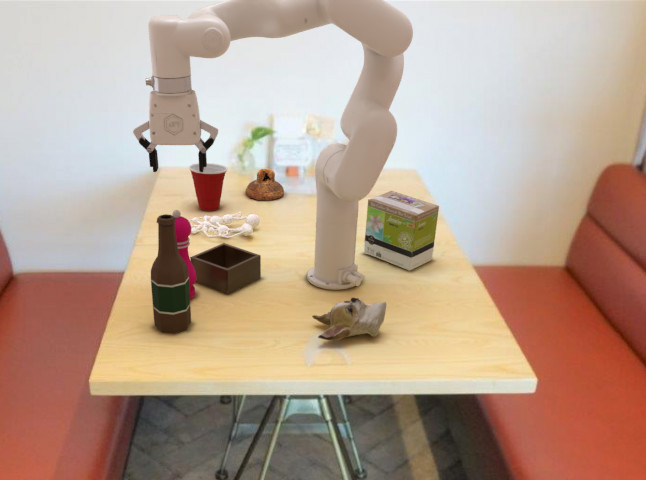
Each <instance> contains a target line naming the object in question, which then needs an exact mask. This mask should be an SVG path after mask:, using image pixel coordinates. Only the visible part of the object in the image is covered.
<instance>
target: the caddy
mask: <svg viewBox="0 0 646 480" xmlns="http://www.w3.org/2000/svg"><path fill="white" fill-rule="evenodd" d="M189 258H190V261H191V263H192V265H193V267H194V269H195V272H196V282H195V284H199V285H202V286H203V287H206V288H210V289H213V290H214V291H218V292H220V293H223V294H226V295H230V294H231V295H232V294H233V293H235V292H237V291H238V290H241V289H243V288H245V287H247V286H248V285H251V284H253V283H255V282H257V281H259V280H261V278H262V276H261V274H262V273H261V268H262V267H261V265H262V264H261V263H262V262H261V254H258V253H255V252H253V251H249V250H246V249H243V248H241V247H237V246H234V245H232V244H228V243H226V242H223V243H221V244H220V243H219V244H218V245H216V246H215V245H214V246H213V247H211V248H208V249H206V250H204V251H201V252H200V253H197V254H194V255H192V256H189Z"/></svg>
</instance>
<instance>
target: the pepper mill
mask: <svg viewBox="0 0 646 480" xmlns="http://www.w3.org/2000/svg"><path fill="white" fill-rule="evenodd" d="M171 215H172V216H174V217H175V220H176V222H175V231H176V239H177V247H178V251H179V255H180V256H181V257H182V258H183V260H184V261H185V263H186V265H187V267H188V273H189V288H190V300H191V299H193V298H194V297H195V296H196V287H195V285H194V284H196V272H195V269H194V267H193V265H192V263H191V259H190V254H189V247H190V245H191V242H190V235H191V234H192V232H191V224H192V223H191V221H190V222H189V221H188V220H189V219H187V218H186V217H185V216H182V213H181V211H180V210H178V209H174V210H173V211H172V214H171ZM190 223H191V224H190Z"/></svg>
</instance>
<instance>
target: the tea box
mask: <svg viewBox="0 0 646 480" xmlns="http://www.w3.org/2000/svg"><path fill="white" fill-rule="evenodd" d="M366 209H367V210H366V221H365V223H366V224H365V232H364V233H365V234H364V247H363V250H364V251H363V254H365V255H369V256H372V257H375V258H377V259H379V260H382V261H384V262H387V263H390V264H392V265H394V266H396V267H400V268H401V269H404V270H406V271H409V272H410V271H412V270H415V269H416V268H418V267H421V266H422V265H425V264H426V263H429V262H431V261H432V260H433V255H434V248H435V240H436V233H437V226H438V225H437V224H438V219H439V211H440V210H439V209H440V205H438V204H435V203H431V202H428V201H425V200H422V199H419V198H415V197H412V196H409V195H406V194H403V193H401V192H397V191H393V190H390V191H387V192H385V193H383V194H380V195H377V196H375V197H372V198H370V199H367V207H366Z"/></svg>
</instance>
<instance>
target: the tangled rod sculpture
mask: <svg viewBox="0 0 646 480" xmlns="http://www.w3.org/2000/svg"><path fill="white" fill-rule="evenodd" d="M200 219H202V220H203V221H200ZM187 220H188V221H189V222H190V224H191V234H193V235H196V234H197V233H198V232H202V233H203V234H204V235H205V236H207V237H209V238H217V237H218V238H220V237H222V238H226V239H230V238H234V237H237V236H240V235H241V236H244V237H248V236H251V235H252V234H253V233H254V229H256V228H257V227H258V226H259V225H260V222H261V220H260V217H259V216H258V215H257V214H256V213H250V214H248V215H246V216H242V212H241V211H239V212H236V213H234V214H230V213H227V214H224V215H223V216H218V215H211V216H209V215H207V214H206V215H203V216H198V217H197V216H194V217H193V218H191V219H187ZM243 220H245V222H244V223H243V224H241V226H239V227H237V228H229V226H227V225H231V224H233V223H234V222H237V221H238V222H239V221H243ZM191 222H192V223H191ZM215 232H217V233H218V234H214V233H215ZM208 233H209V234H208ZM229 233H234V234H232V235H229ZM212 234H213V235H212Z"/></svg>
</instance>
